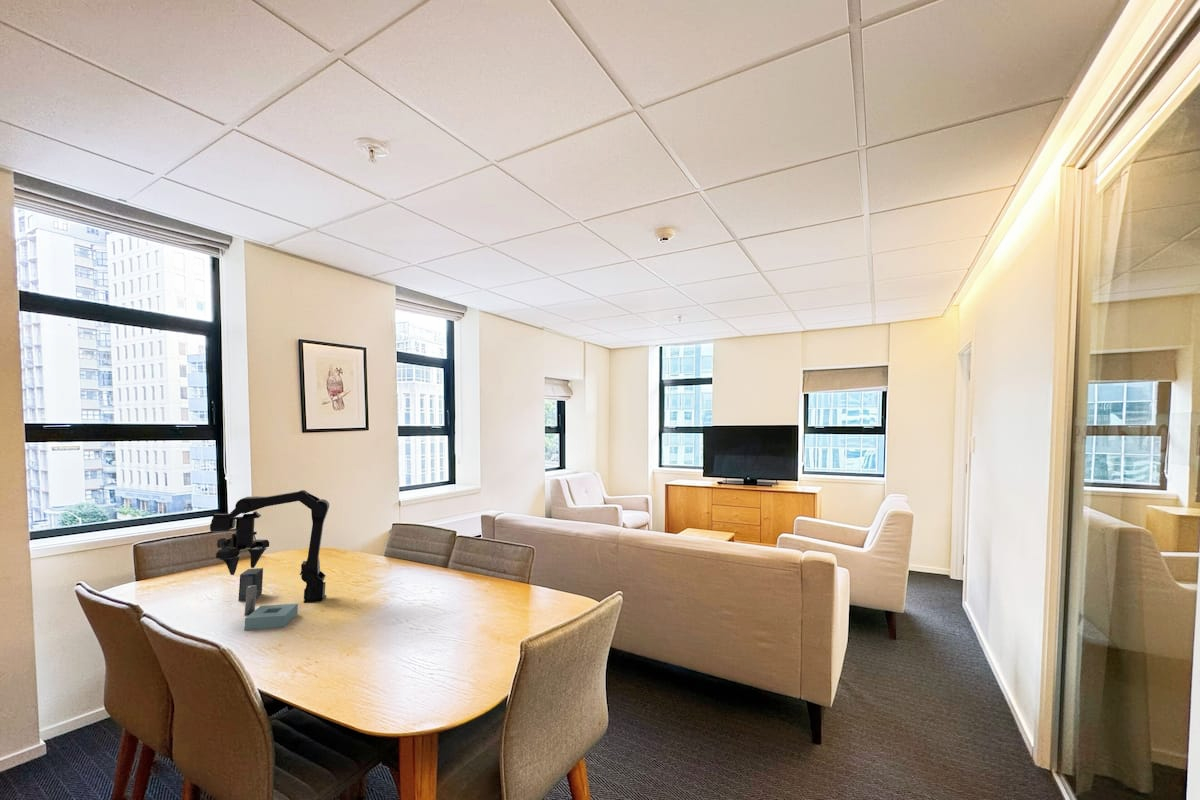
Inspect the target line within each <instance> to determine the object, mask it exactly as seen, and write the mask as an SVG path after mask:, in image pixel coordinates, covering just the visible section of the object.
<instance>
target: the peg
mask: <svg viewBox="0 0 1200 800" xmlns="http://www.w3.org/2000/svg"><path fill="white" fill-rule="evenodd" d="M256 588H257V585H250V586H247V589H246V601H244V602H245V607H244V616H246V617H247V616H249V615H250V614H251V613H252V612H254V611H255V610H256V600H257V598H256Z"/></svg>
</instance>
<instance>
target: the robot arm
mask: <svg viewBox="0 0 1200 800" xmlns="http://www.w3.org/2000/svg"><path fill="white" fill-rule="evenodd" d="M294 502H299V503H301V504H302V505H303V506H305V507H306V508H308V509H310V511H311V520H312V522H311V523H312V525H311V533H310V541H309V548H308V554H307V558H306V560H303V561H302V562H301V565H300V567H301V568H300V569H301V571H300V573H299V576H301V577H300V578H301V580H302V581H303V582H304V583H306V585H305V588H304V589H303V591H304V592H303V602H302V603H314V602H315V601H319V602H322V601H324V600H325V598H326V597H327V594H326V585H327V584H326V582H325V581H324V580H325V578H326V574H325V573H324V572H322V571H321V563H320V551H321V542H322V535H323V528H324V522H325V519H326V517H327V515H328V512H329V508H330V503H329V502H328V500H327V499H324V498H322V499H321V498H319V497H318V496H315V495H313V494H311V493H309V492H308V491H306V490H304V489H302V490H298V491H293V492H287V493H280V494H275V495H274V494H273V495H269V496H268V495H267V496H246V497H242V498H240V499H238V501H236V503H235V506H234V507H235V508H234V509H233V510H232V511H230V513H214V514H213V516H212V518H211V523H210V524H209V530H210V533H221V532H223V533H224V532H226V533H227V532H231V531H232V529H235V533H232V535H231V538H228V539H226V537H223V538H220V539H217V541H216V547H217V549H219V550H217V551H216V554H215V558H216V559H219V560H220V561H223V562H224V563H225V564H226V567H227V569H228V572H229V574H230V576H235V573H236V571H237V567H238V564H239V561H240V556H239V555H240V553H241V552H245V551H248V552H249V554H250V569H255V567H256V565H257V563H258V562H259V561H260V559H261V557H262V555H263V554H264V552H265V551H266V550H267V549H268V548H269V547H270V541H269V540H268V539H258V538H257V539H255V538H254V537H255V535H257V534H258V533H257V532H258V531H255V519H259V518H261V517H262V515H261V514H260V513H259V512H258V511H257V510H259V509H263V508H265V507H272V506H277V505H282V504H290V503H294ZM251 512H253V513H251ZM241 514H242V516H239V515H241ZM220 548H221V549H220ZM315 603H316V602H315Z"/></svg>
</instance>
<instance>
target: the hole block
mask: <svg viewBox="0 0 1200 800" xmlns="http://www.w3.org/2000/svg"><path fill="white" fill-rule="evenodd" d="M298 606H299V603H286V604H285V603H283V604H282V603H281V604H266V605H260V606H259V607H258V608H255V611H254V612H252V613H251V614H250V615H249V616H246V617H245V618H244V628H243V629H244V631H251V630H252V631H253V630H255V631H256V630H267V629H279V628H282V629H283V628H286V626H288V625H289V624H290V622H291V621H292V620H293V619H294V618H295V617H297V616H298V609H299V607H298Z"/></svg>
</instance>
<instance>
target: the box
mask: <svg viewBox="0 0 1200 800" xmlns="http://www.w3.org/2000/svg"><path fill="white" fill-rule="evenodd" d="M263 576H264V568H263V567H261V568H258V567H257V568H248V569H246V570H245V571H243V572H242V573H240V574H239V586H238V587H239V588H238V602H243V600H246V589H247V586H250V585H257V588H256V599H257V598H258V597H259V596H261V595H262V594H261V593H263V579H264V578H263Z"/></svg>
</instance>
